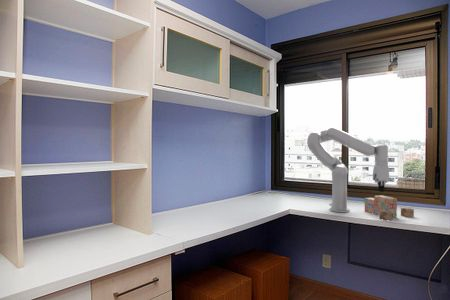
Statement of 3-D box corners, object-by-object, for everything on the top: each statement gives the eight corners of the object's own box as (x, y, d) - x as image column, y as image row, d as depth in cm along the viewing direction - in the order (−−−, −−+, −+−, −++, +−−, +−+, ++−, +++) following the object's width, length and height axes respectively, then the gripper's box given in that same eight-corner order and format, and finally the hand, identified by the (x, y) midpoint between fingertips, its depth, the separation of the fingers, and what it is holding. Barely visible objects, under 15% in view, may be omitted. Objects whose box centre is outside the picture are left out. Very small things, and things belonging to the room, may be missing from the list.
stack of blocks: (364, 211, 203) (364, 193, 203) (371, 210, 205) (371, 193, 205) (388, 218, 182) (388, 198, 182) (397, 217, 184) (397, 198, 184)
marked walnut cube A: (379, 219, 180) (379, 210, 180) (384, 218, 183) (384, 209, 183) (387, 220, 176) (387, 212, 176) (392, 219, 179) (392, 211, 179)
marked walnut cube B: (400, 215, 190) (400, 207, 190) (407, 215, 191) (408, 207, 191) (406, 217, 185) (406, 209, 185) (413, 217, 186) (413, 209, 186)
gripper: (384, 163, 199) (384, 190, 199) (368, 163, 194) (368, 191, 194) (394, 163, 192) (394, 191, 192) (377, 164, 187) (377, 192, 187)
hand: (381, 191), depth 193 cm, fingers closed
